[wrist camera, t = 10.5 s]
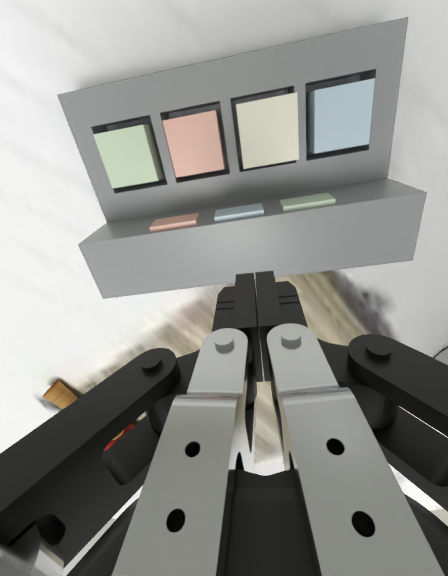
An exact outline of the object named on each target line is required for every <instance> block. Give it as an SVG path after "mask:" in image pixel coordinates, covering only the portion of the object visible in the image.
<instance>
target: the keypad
mask: <svg viewBox="0 0 448 576" xmlns="http://www.w3.org/2000/svg"><path fill="white" fill-rule="evenodd" d="M407 23H408V17H406V18H401V19H397V20H392V21H388V22H383V23H379V24H374V25H370V26H365V27H360V28H356V29H351V30H347V31H342V32H338V33H333V34H329V35H324V36H320V37H315V38H311V39H306V40H302V41H297V42H293V43H288V44H284V45H279V46H275V47H270V48H266V49H261V50H257V51H252V52H248V53H243V54H239V55H234V56H230V57H225V58H221V59H216V60H212V61H207V62H203V63H198V64H193V65H189V66H184V67H180V68H175V69H171V70H166V71H162V72H157V73H153V74H148V75H144V76H139V77H135V78H130V79H126V80H121V81H117V82H112V83H108V84H103V85H99V86H94V87H90V88H85V89H81V90H76V91H72V92H67V93H63V94H58V95H57V96H58V98H59V101H60V103H61V106H62V108H63V111H64V114H65V116H66V119H67V121H68V124H69V126H70V129H71V132H72V134H73V137H74V139H75V142H76V144H77V147H78V149H79V152H80V155H81V157H82V160H83V162H84V165H85V167H86V170H87V173H88V175H89V178H90V180H91V183H92V185H93V188H94V191H95V193H96V196H97V198H98V201H99V203H100V206H101V208H102V211H103V214H104V216H105V219H106V221H107V223H106V224H105V225H103V226H102V227H101V228H99V229H98V230H97V231H95V232H94V233H93V234H91V235H90V236H89V237H88V238H86V239H85V240H84V241H82V242H81V243H80V244H78V246H79V248H80V250H81V252H82V254H83V256H84V259H85V261H86V263H87V265H88V267H89V269H90V272H91V274H92V276H93V278H94V280H95V282H96V284H97V287H98V289H99V291H100V293H101V295H102V297H103V299H105V298H113V297H121V296H129V295H137V294H145V293H153V292H161V291H169V290H177V289H185V288H193V287H201V286H209V285H217V284H225V283H233V282H235V280H236V274H244V273H254V279H255V280H256V276H255V272H263V271H272V270H273V272H274V277H282V276H290V275H298V274H306V273H314V272H322V271H330V270H338V269H346V268H354V267H362V266H370V265H378V264H386V263H394V262H402V261H410V260H413V256H414V252H415V247H416V242H417V237H418V232H419V227H420V222H421V217H422V212H423V207H424V202H425V198H426V193H427V192H424V191H422V190H419V189H416V188H413V187H410V186H408V185H405V184H402V183H399V182H396V181H394V180H391V179H388V178H387V176H388V169H389V161H390V153H391V146H392V138H393V130H394V122H395V115H396V107H397V99H398V92H399V84H400V76H401V69H402V61H403V53H404V46H405V38H406V30H407ZM374 78H375V85H374V96H373V107H372V118H371V129H370V139H369V144H366V145H361V146H355V147H349V148H343V149H338V150H332V151H326V152H320V153H315V154H314V153H312V152H309V151H307V93H310V92H312V91H314V90H319V89H324V88H329V87H334V86H339V85H344V84H349V83H354V82H359V81H364V80H369V79H374ZM296 92H297V95H298V138H299V160H293V161H287V162H281V163H276V164H270V165H264V166H258V167H252V168H247V169H244V168H243V161H242V152H241V144H240V136H239V127H238V119H237V111H236V104H241V103H246V102H251V101H256V100H261V99H266V98H271V97H276V96H281V95H286V94H291V93H296ZM213 110H216V111H217V112H218V118H219V125H220V132H221V138H222V145H223V152H224V159H225V169H223V170H217V171H211V172H205V173H200V174H194V175H188V176H182V177H176V176H175V172H174V167H173V163H172V159H171V155H170V151H169V146H168V142H167V138H166V134H165V130H164V126H163V120H168V119H173V118H178V117H183V116H188V115H193V114H198V113H203V112H208V111H213ZM138 125H152V127H153V131H154V135H155V139H156V142H157V146H158V150H159V154H160V158H161V162H162V166H163V170H164V174H165V176H164V177H163V178H161V179H160V180H158V181H153V182H148V183H142V184H136V185H130V186H125V187H119V188H113V189H112V186H111V183H110V180H109V178H108V175H107V172H106V169H105V166H104V164H103V161H102V158H101V155H100V152H99V150H98V147H97V144H96V141H95V138H94V136H93V134H98V133H103V132H108V131H113V130H118V129H123V128H128V127H133V126H138Z"/></svg>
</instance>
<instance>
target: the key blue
mask: <svg viewBox="0 0 448 576" xmlns="http://www.w3.org/2000/svg"><path fill="white" fill-rule="evenodd" d="M374 85H375V78H374V79H369V80H364V81H359V82H354V83H349V84H344V85H339V86H334V87H329V88H324V89H319V90H314V91H312V92H310V93H307V151H309V152H312V153H314V154H315V153H320V152H326V151H332V150H338V149H343V148H349V147H355V146H361V145H366V144H369V139H370V129H371V118H372V107H373V96H374Z"/></svg>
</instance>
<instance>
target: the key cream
mask: <svg viewBox="0 0 448 576" xmlns="http://www.w3.org/2000/svg"><path fill="white" fill-rule="evenodd" d="M236 111H237V119H238V127H239V136H240V144H241V152H242V161H243V168H244V169H247V168H252V167H258V166H264V165H270V164H276V163H281V162H287V161H293V160H299V138H298V95H297V92H296V93H291V94H286V95H281V96H276V97H271V98H266V99H261V100H256V101H251V102H246V103H241V104H236Z"/></svg>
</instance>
